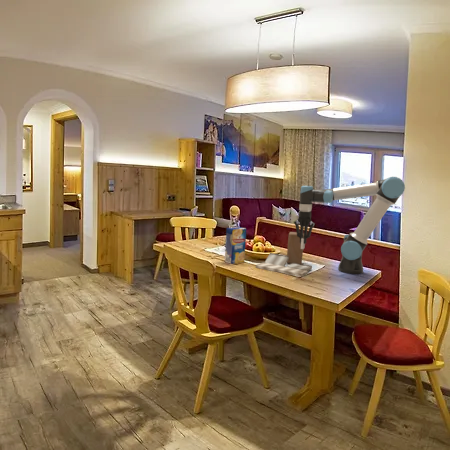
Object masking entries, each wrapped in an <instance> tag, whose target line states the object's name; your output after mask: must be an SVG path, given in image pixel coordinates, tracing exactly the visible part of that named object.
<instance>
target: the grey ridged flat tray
mask: <svg viewBox="0 0 450 450" xmlns="http://www.w3.org/2000/svg"><path fill="white" fill-rule="evenodd" d="M255 268H257V269H262V270H266V271H270V272H276V273H280V274H281V273H282V274H286V275H291V276H296V277H304V276H306V275H307V274H308V272H309V271H306V270H301V269H295V268H290V267H287V266H286V265H285V266H279V265H274V264H269V263H265V262H260V263H257V264H255Z"/></svg>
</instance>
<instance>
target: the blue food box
mask: <svg viewBox="0 0 450 450" xmlns="http://www.w3.org/2000/svg"><path fill="white" fill-rule="evenodd" d="M225 234H226V235H225V248H224V249H225V251H224V253H225V254H224V262H225V263H228V264H232V265H234V264H239V263H245V258H246V242H247V241H246V240H247V228H246V227H241V226H238V227H226V233H225Z"/></svg>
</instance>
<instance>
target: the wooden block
mask: <svg viewBox="0 0 450 450" xmlns="http://www.w3.org/2000/svg"><path fill="white" fill-rule="evenodd" d="M303 238H304V232H303ZM303 252H304V249H301V243H300V238H299V237H297V232H296V231H289V233H288V239H287V251H286V256H289V259H288V261H287V263H286V264H288V265H290V264H292V263H297V264H303V254H304V253H303Z"/></svg>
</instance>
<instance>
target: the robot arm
mask: <svg viewBox="0 0 450 450" xmlns="http://www.w3.org/2000/svg"><path fill="white" fill-rule="evenodd" d="M405 189H406V187H405V183H404V181H403V179H401V178H400V177H397V176H390V177H387V178H385V179H380V180H377V181H376V182H370V183H362V184H356V185H349V186H342V187H341V186H339V187H334V188H326V189H314V186H313V185H302V186H300V193H299V208H298V210H299V211H298V218H297V220H295V221H294V222H293V223H294V226H295V230H296V231H295V232H297V237H299V238H300V243H301V249H303V250H304V249H305V246H306V244H307V239H309V238H311V234H312V231H313V228H314V227H315V224H316V223H315V222H313V221H312V208H313V203H325V204H331V203H333V201H339V200H340V201H341V200H347V199H357V198H363V197H373V196H376V198H375V200H374V201H373V203H372V204H371V206H370V207H369V209H368V210H367V212H366V213H365V215H364V216H363V218H362V220H361V221H360V222H359V224H358V226H357V227H356V228H355V230H354V232H349V234H345V235H344V237H343V243H342V245H341V247H340V251H341V252H340V253H341V255H342V256H341V259H340V262H339V264H338V267H337V270H338V271H339V272H341V273H345V274H351V275H352V274H353V275H361V274H363V273H364V266H363V262H362V257H363V251H365V248H366V247H367V245H368V243H369V242H368V239H369V237H371V236H372V233H373V231H374V230H375V229H376V227H377V226H378V224H379V223H380V221H381V220H382V219H383V217H384V216H385V214H386V213H387V211H388V210H389V209H390V206H392V205H395V204H396V203H397V201H398V200H399V198H400V197H402V195H403V194H404V193H405ZM308 227H309V228H308ZM303 233H304V238H303ZM360 273H361V274H360Z"/></svg>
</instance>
